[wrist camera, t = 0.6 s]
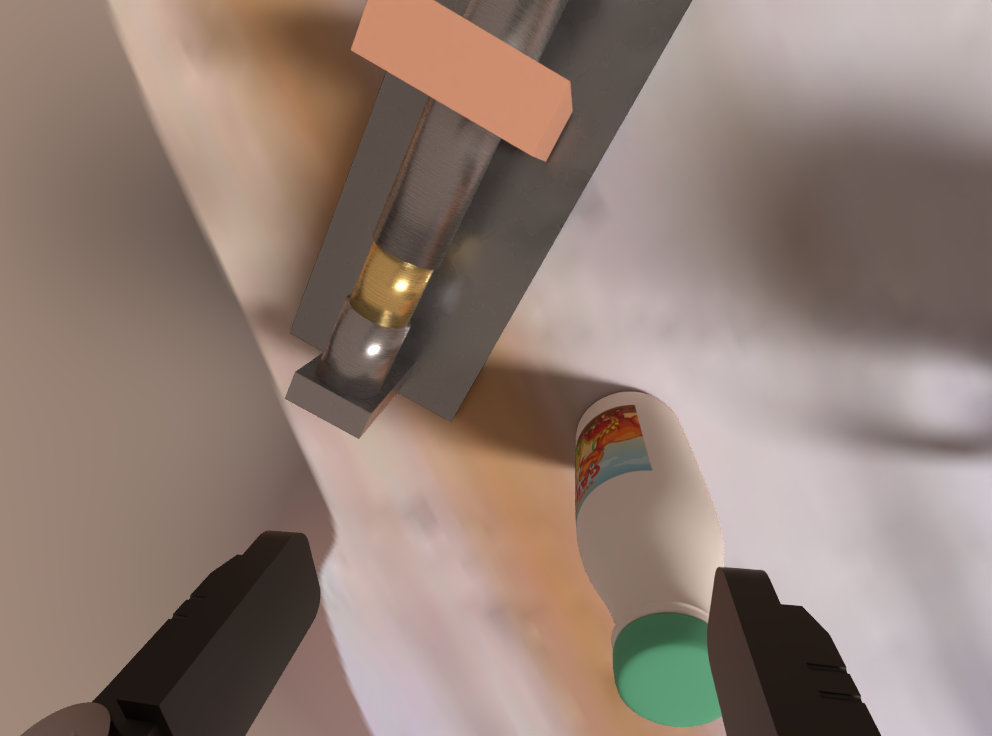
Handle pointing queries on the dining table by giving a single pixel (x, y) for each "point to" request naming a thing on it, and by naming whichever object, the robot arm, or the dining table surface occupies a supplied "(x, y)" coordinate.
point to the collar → (467, 71)
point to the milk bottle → (650, 553)
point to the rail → (460, 213)
